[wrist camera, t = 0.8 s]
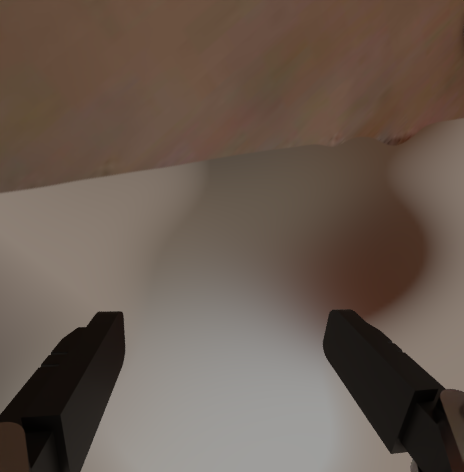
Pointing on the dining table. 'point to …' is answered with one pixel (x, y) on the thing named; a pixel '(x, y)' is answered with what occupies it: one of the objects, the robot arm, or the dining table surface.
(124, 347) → the robot arm
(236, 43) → the dining table surface
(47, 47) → the dining table surface
